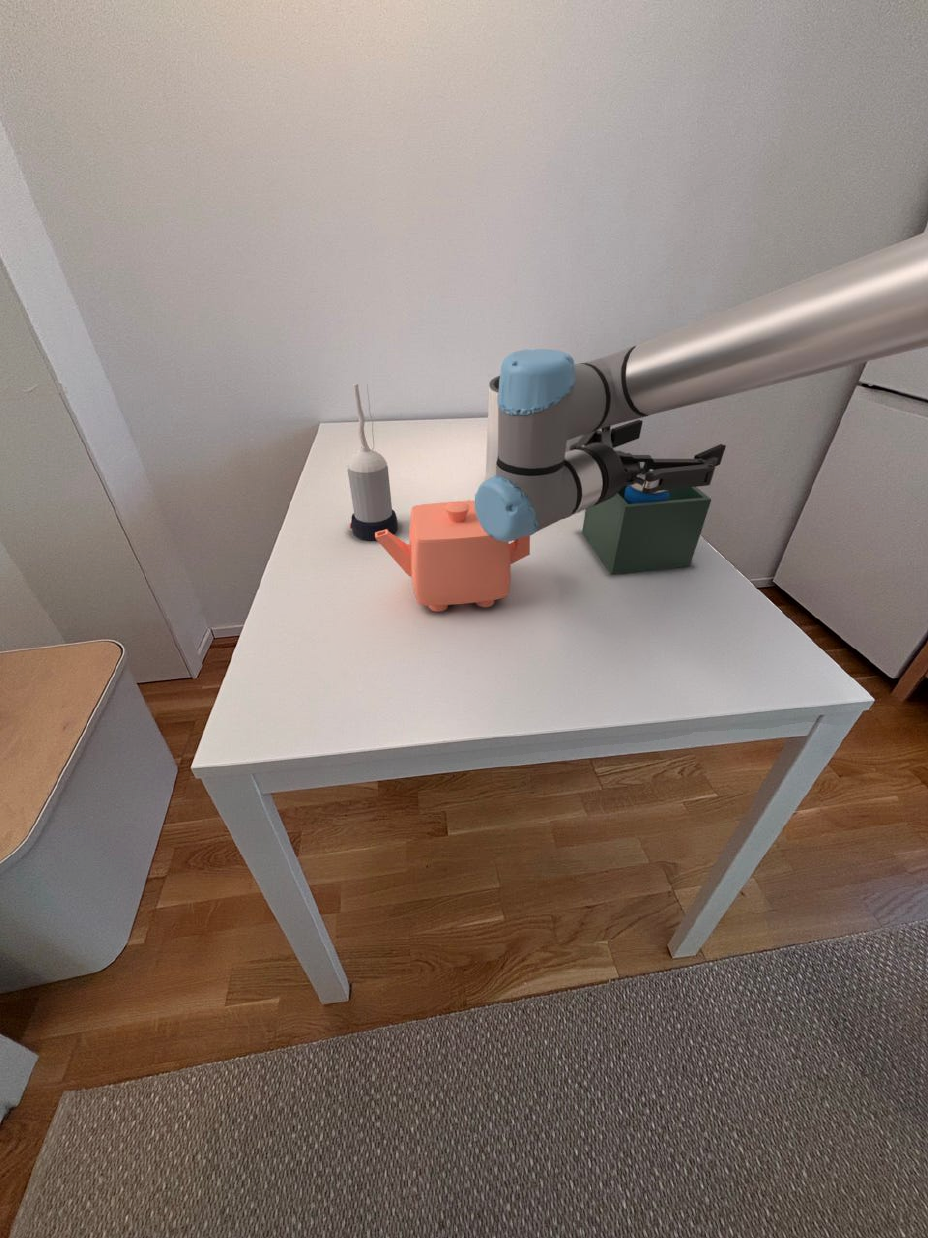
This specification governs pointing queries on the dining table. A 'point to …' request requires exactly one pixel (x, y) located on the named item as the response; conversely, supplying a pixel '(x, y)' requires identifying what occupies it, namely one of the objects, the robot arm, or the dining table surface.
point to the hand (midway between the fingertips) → (677, 440)
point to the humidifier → (369, 487)
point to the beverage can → (643, 495)
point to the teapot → (453, 556)
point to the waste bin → (646, 530)
